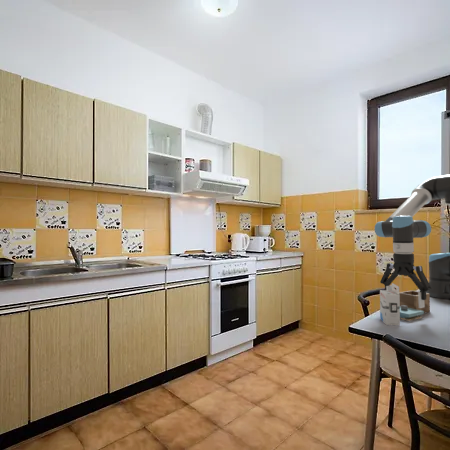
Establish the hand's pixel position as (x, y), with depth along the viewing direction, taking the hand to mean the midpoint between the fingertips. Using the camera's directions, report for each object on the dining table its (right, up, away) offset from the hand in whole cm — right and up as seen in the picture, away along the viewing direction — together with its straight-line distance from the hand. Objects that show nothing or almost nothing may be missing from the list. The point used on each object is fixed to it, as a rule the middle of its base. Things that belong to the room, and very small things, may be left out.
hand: (404, 304), depth 129 cm
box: (+8, -5, +8) cm, 12 cm away
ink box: (-10, -5, -8) cm, 14 cm away
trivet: (0, -5, 0) cm, 5 cm away
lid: (0, -5, 0) cm, 5 cm away
